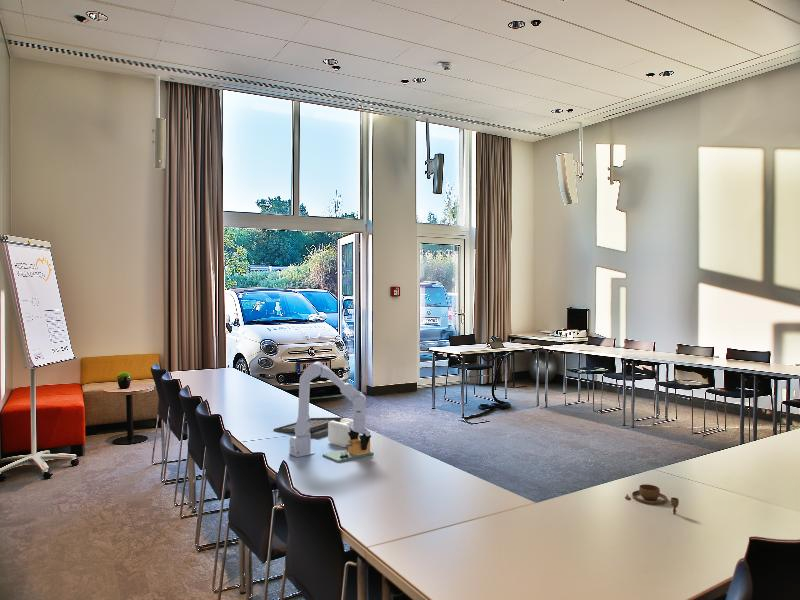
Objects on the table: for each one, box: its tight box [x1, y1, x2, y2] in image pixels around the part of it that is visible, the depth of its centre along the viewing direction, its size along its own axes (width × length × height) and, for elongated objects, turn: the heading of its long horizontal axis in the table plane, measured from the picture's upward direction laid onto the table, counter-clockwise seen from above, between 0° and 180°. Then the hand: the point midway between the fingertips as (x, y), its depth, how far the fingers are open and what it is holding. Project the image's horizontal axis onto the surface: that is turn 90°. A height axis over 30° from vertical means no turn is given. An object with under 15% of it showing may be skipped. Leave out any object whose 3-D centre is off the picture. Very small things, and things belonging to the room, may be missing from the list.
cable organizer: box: [327, 418, 362, 448], centre depth 285 cm, size 15×11×12 cm
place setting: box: [624, 483, 680, 516], centre depth 205 cm, size 18×20×6 cm
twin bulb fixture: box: [340, 450, 349, 458], centre depth 258 cm, size 4×1×3 cm, turn 130°
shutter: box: [273, 416, 347, 440], centre depth 316 cm, size 32×7×31 cm
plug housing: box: [345, 438, 371, 455], centre depth 265 cm, size 12×5×6 cm, turn 130°
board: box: [322, 448, 374, 463], centre depth 264 cm, size 20×13×1 cm, turn 130°
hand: (359, 448), depth 266 cm, fingers open, 7 cm apart
